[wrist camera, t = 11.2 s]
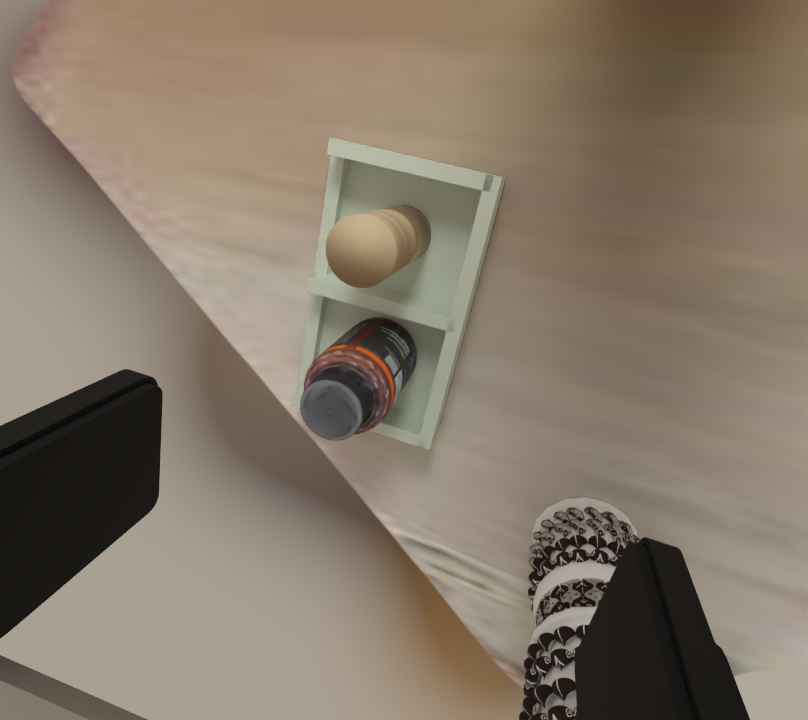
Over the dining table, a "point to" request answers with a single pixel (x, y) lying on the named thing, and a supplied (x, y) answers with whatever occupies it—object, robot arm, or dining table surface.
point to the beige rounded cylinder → (376, 244)
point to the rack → (406, 272)
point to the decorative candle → (567, 595)
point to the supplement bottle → (357, 379)
